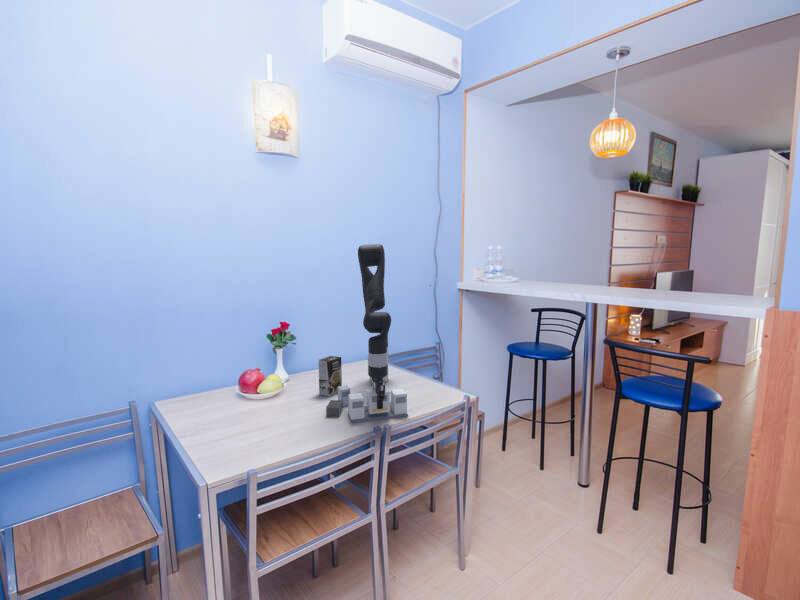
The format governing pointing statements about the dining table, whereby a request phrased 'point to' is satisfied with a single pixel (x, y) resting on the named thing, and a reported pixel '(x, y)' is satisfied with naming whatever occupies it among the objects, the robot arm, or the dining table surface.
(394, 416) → the rail mount
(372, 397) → the loose module
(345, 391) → the block
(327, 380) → the coffee box
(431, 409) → the dining table surface
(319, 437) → the dining table surface
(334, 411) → the block
